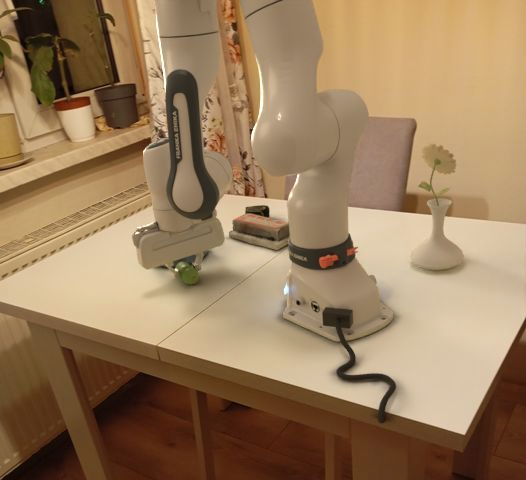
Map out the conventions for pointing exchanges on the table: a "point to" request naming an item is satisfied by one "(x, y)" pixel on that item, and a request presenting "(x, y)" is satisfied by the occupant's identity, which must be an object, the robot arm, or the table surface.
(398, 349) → the table surface
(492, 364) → the table surface
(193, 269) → the pale zucchini
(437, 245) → the flower in vase
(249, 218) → the packaged product
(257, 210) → the tape measure
